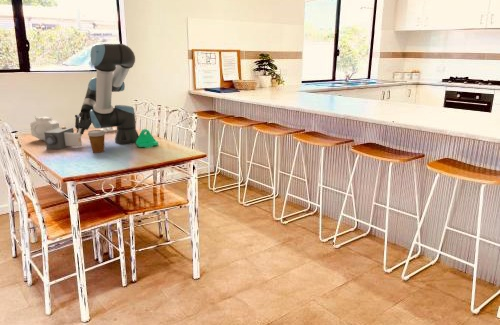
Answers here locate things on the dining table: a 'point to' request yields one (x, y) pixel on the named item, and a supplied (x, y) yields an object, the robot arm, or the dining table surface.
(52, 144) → the box
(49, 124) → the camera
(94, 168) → the dining table surface
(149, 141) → the green triangular piece
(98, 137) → the disposable coffee cup
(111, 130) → the white piece
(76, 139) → the side door
